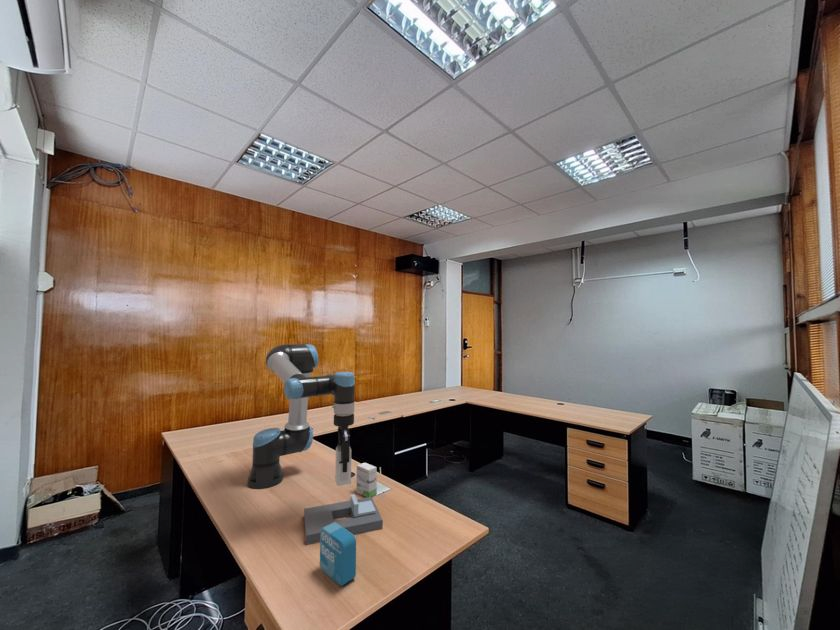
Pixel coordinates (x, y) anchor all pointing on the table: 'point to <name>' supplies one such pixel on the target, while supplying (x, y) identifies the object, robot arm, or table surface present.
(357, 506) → the light blue l-shaped block
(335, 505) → the socket block
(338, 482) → the plug
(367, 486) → the ink box
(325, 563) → the data package
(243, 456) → the table surface
